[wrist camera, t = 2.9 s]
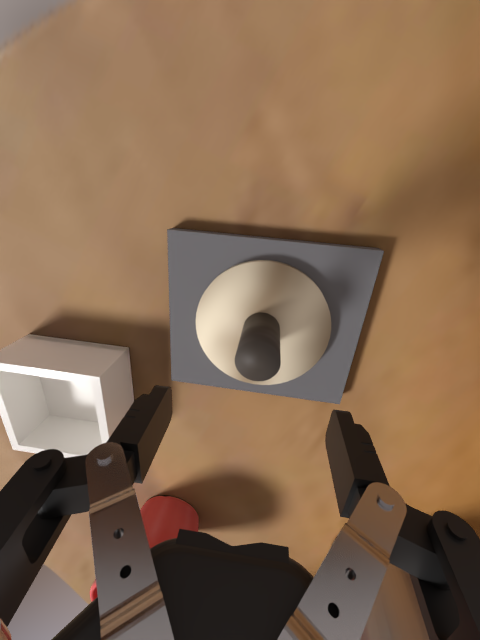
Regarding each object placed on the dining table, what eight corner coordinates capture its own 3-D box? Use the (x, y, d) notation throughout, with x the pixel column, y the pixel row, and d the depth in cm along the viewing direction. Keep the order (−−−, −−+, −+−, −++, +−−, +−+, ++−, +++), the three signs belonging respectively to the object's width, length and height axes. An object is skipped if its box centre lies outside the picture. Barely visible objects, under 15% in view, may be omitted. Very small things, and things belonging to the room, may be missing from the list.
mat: (378, 248, 21) (384, 250, 20) (337, 395, 27) (339, 404, 26) (172, 227, 22) (167, 229, 21) (175, 373, 28) (171, 380, 27)
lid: (343, 267, 21) (365, 290, 15) (316, 387, 25) (326, 437, 20) (198, 253, 22) (173, 270, 16) (197, 371, 26) (177, 415, 21)
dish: (128, 347, 27) (99, 377, 23) (136, 427, 32) (113, 466, 27) (28, 333, 28) (-20, 360, 24) (49, 414, 32) (12, 449, 28)
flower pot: (154, 473, 35) (113, 568, 26) (226, 515, 36) (210, 617, 27) (119, 511, 39) (73, 604, 30) (185, 546, 40) (159, 644, 32)
